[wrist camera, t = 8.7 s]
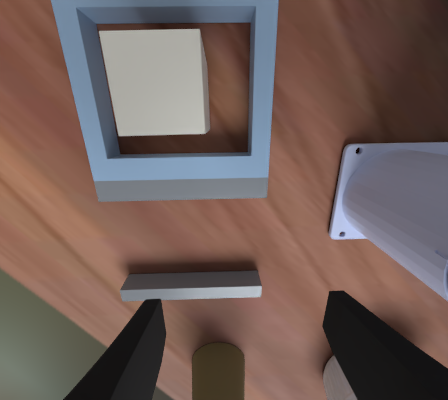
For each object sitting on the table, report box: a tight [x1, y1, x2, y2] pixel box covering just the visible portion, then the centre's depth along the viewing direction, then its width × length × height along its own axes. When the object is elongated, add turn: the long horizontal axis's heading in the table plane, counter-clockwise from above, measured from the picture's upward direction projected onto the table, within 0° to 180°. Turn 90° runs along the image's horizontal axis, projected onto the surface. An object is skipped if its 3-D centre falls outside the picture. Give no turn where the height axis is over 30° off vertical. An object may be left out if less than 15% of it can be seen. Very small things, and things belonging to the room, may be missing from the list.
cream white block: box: [99, 29, 210, 136], centre depth 12 cm, size 4×4×6 cm
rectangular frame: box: [51, 0, 279, 301], centre depth 15 cm, size 12×21×2 cm, turn 1°
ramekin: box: [323, 355, 357, 400], centre depth 23 cm, size 11×11×5 cm
